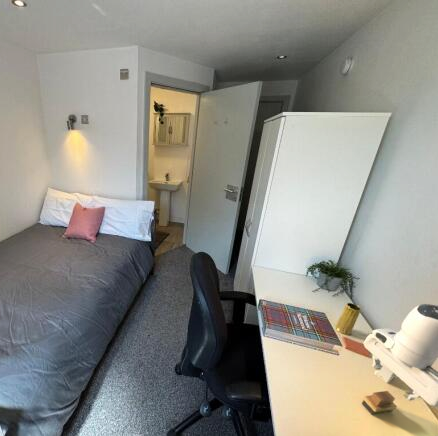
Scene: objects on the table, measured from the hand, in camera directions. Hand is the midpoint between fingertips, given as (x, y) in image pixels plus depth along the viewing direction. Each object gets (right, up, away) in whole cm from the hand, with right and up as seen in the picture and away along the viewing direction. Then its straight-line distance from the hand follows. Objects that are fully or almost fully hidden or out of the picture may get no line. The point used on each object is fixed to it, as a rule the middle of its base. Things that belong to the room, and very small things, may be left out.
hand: (391, 382), depth 75 cm
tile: (+13, -4, +27) cm, 30 cm away
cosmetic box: (+14, -8, +16) cm, 22 cm away
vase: (+15, -1, +36) cm, 39 cm away
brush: (0, -12, +4) cm, 13 cm away
